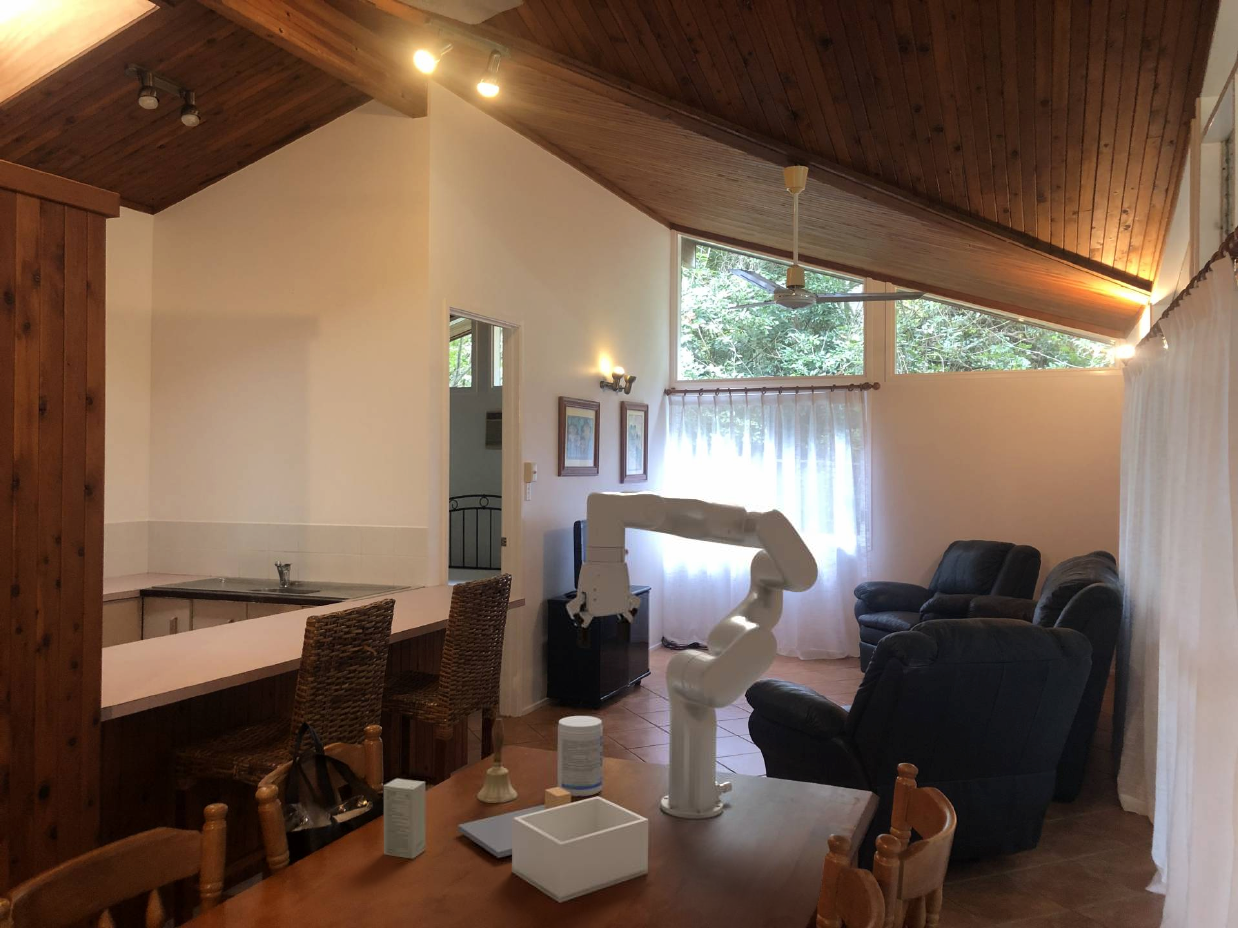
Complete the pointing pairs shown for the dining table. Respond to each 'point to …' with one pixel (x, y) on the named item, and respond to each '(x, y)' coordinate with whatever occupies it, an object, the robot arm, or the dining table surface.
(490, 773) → the hand bell
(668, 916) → the dining table surface
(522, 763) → the dining table surface
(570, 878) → the parts tub
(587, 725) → the supplement tub
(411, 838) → the skincare box
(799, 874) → the dining table surface
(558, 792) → the grey board with block
